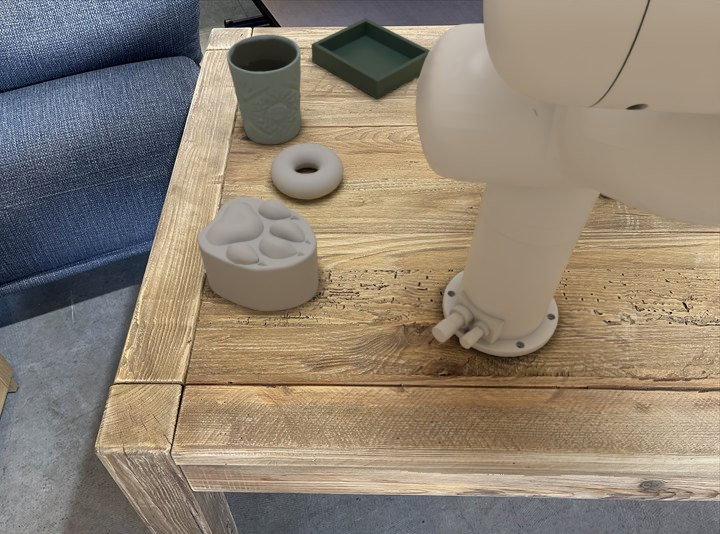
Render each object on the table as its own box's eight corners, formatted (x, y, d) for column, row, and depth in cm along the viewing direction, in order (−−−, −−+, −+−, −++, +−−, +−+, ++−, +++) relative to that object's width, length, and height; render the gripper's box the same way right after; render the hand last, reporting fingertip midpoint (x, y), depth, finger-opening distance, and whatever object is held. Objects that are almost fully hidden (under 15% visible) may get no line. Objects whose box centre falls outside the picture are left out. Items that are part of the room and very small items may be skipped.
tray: (430, 69, 100) (433, 51, 97) (376, 99, 95) (377, 81, 92) (365, 35, 107) (365, 18, 105) (312, 61, 102) (311, 43, 100)
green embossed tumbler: (287, 154, 87) (280, 78, 77) (225, 138, 89) (212, 63, 80) (315, 115, 92) (312, 41, 83) (257, 102, 95) (248, 28, 86)
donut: (356, 171, 84) (296, 149, 87) (357, 152, 81) (295, 129, 85) (319, 215, 79) (256, 189, 82) (319, 195, 76) (254, 169, 79)
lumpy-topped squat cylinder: (242, 232, 77) (232, 179, 70) (334, 263, 73) (333, 210, 67) (198, 289, 71) (183, 238, 64) (296, 325, 68) (291, 275, 61)
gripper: (529, 3, 52) (488, 170, 66) (635, -53, 59) (578, 109, 73) (461, -24, 56) (436, 140, 69) (569, -73, 63) (527, 85, 77)
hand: (509, 123), depth 71 cm, fingers closed on cup, 6 cm apart
